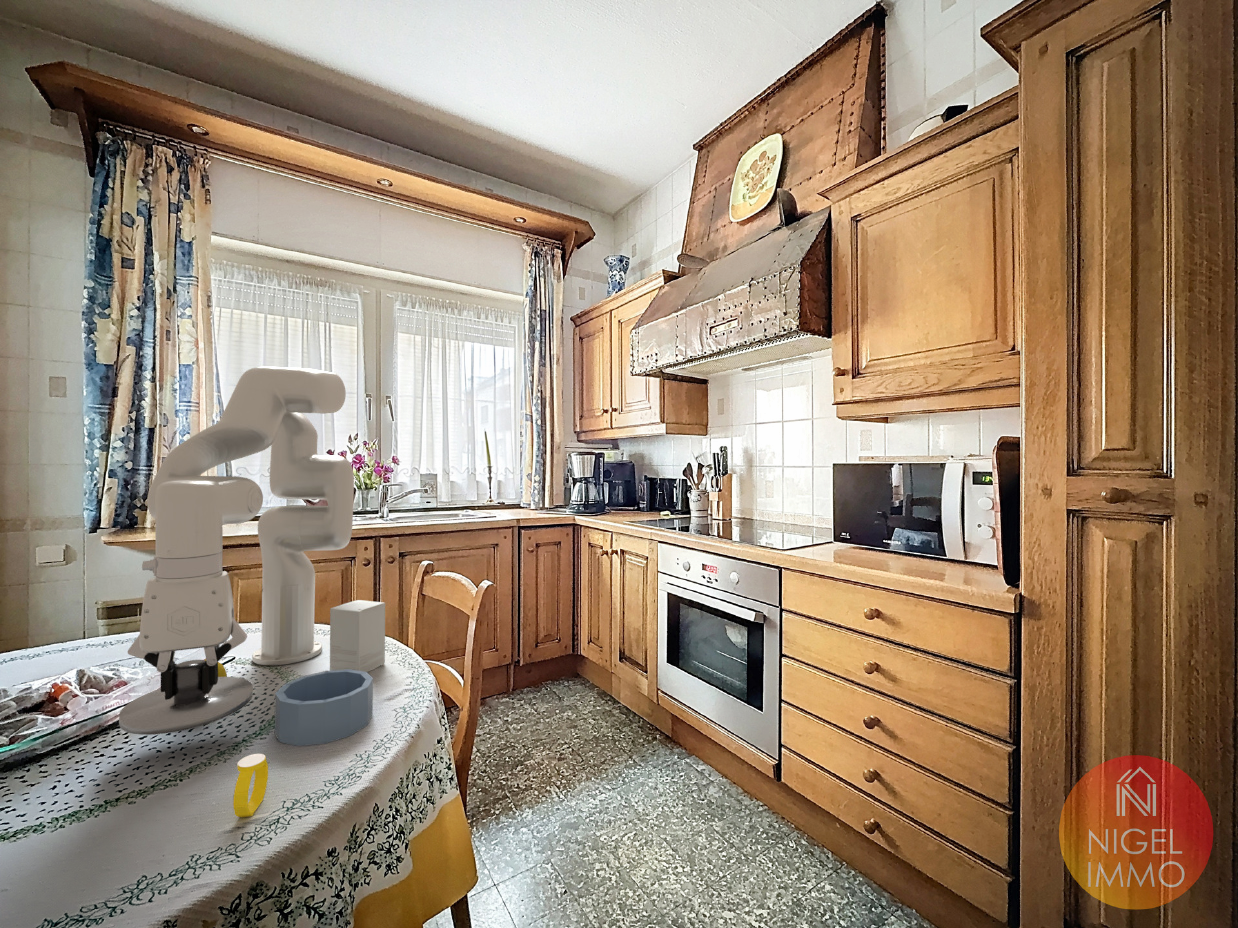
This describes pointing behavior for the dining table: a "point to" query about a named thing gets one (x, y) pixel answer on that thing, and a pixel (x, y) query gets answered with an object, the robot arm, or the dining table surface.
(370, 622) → the supplement box
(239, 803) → the watch
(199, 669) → the lid
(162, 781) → the dining table surface
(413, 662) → the dining table surface
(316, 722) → the bowl
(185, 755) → the dining table surface
